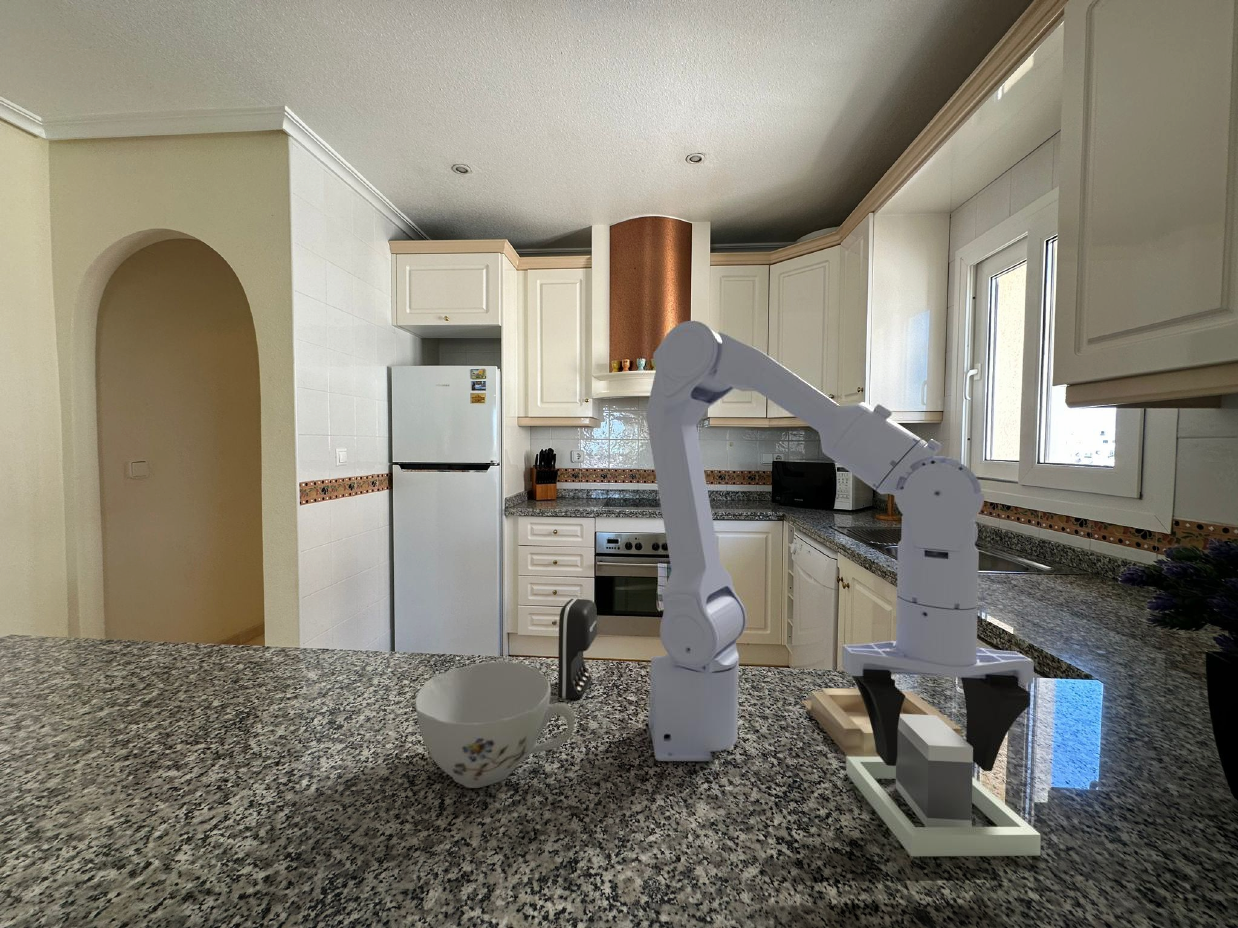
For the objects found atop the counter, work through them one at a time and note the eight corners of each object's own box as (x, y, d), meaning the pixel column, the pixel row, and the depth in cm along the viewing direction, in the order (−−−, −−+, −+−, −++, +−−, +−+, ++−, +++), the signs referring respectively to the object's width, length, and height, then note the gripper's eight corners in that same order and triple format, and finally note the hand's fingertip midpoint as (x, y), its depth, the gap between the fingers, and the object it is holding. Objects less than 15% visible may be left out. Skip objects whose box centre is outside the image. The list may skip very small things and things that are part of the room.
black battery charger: (586, 703, 61) (588, 610, 61) (556, 700, 61) (558, 608, 61) (598, 679, 68) (599, 596, 68) (571, 676, 68) (572, 594, 68)
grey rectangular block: (927, 832, 39) (928, 745, 39) (895, 791, 44) (896, 713, 44) (971, 835, 39) (973, 747, 39) (934, 793, 44) (935, 715, 44)
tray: (911, 868, 36) (911, 835, 36) (846, 783, 46) (846, 756, 46) (1040, 867, 37) (1040, 834, 37) (948, 782, 47) (948, 756, 47)
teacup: (384, 808, 42) (386, 714, 42) (449, 729, 54) (450, 657, 54) (558, 824, 40) (560, 726, 40) (584, 739, 53) (585, 665, 53)
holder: (849, 769, 48) (850, 738, 48) (801, 708, 60) (801, 684, 60) (979, 769, 49) (979, 738, 49) (905, 708, 61) (905, 684, 61)
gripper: (992, 590, 45) (989, 739, 45) (830, 585, 46) (827, 730, 46) (1056, 614, 38) (1052, 790, 38) (862, 607, 39) (859, 779, 39)
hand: (932, 761), depth 42 cm, fingers open, 7 cm apart
